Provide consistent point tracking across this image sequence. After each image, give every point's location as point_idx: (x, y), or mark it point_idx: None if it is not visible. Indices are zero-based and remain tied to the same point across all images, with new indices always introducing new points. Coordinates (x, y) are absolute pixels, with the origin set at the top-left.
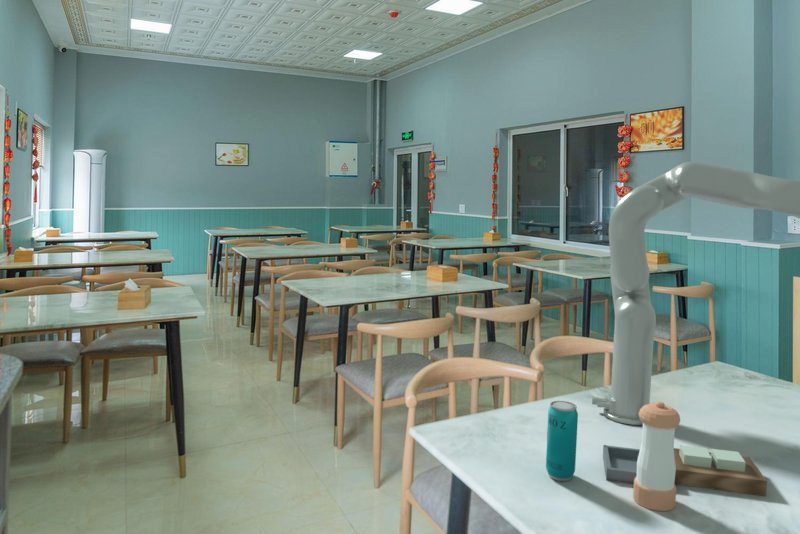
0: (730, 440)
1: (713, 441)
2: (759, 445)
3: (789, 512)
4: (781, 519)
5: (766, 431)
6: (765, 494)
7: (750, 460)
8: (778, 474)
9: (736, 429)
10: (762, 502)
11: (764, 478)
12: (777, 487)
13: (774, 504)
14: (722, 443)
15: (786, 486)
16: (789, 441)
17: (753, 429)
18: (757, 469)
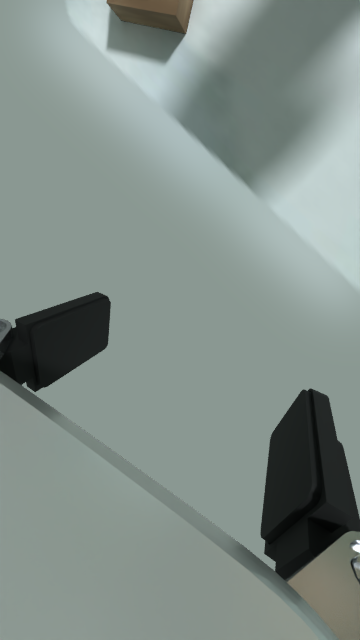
0: (304, 67)
1: (310, 11)
2: (269, 126)
3: (92, 36)
4: (78, 11)
5: (324, 189)
6: (120, 18)
7: (164, 9)
8: (174, 90)
9: (355, 121)
10: None
11: (112, 2)
12: (142, 60)
13: (105, 23)
14: (295, 34)
15: (144, 79)
16: (273, 201)
17: (342, 166)
18: (136, 5)
